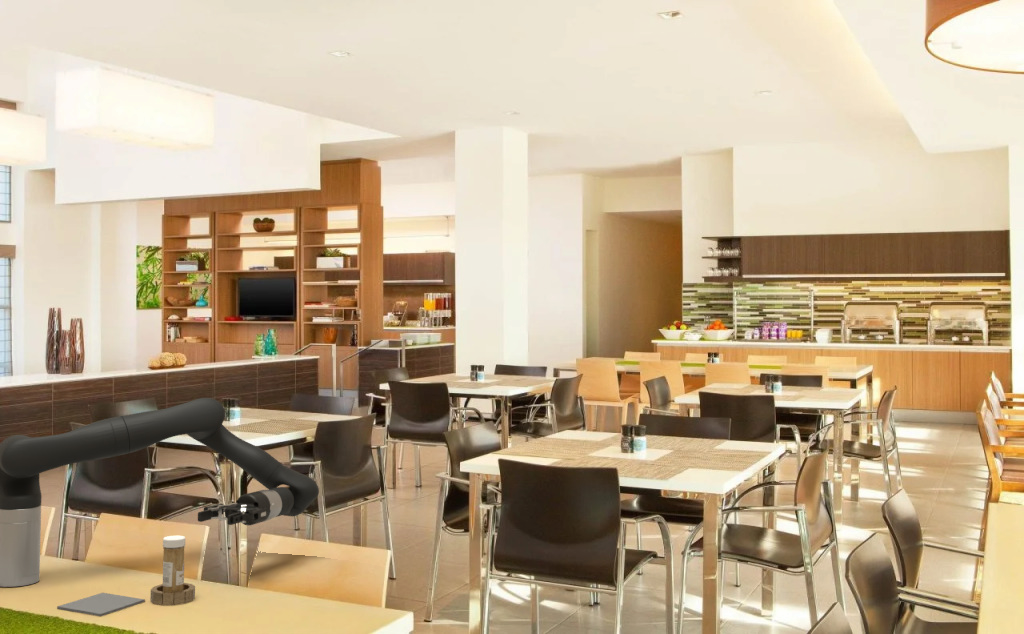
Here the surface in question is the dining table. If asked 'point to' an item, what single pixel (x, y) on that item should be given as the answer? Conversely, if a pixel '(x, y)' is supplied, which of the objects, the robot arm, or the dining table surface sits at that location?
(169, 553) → the sprinkles bottle
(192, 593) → the ring holder
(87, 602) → the rubber mat
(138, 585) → the dining table surface
